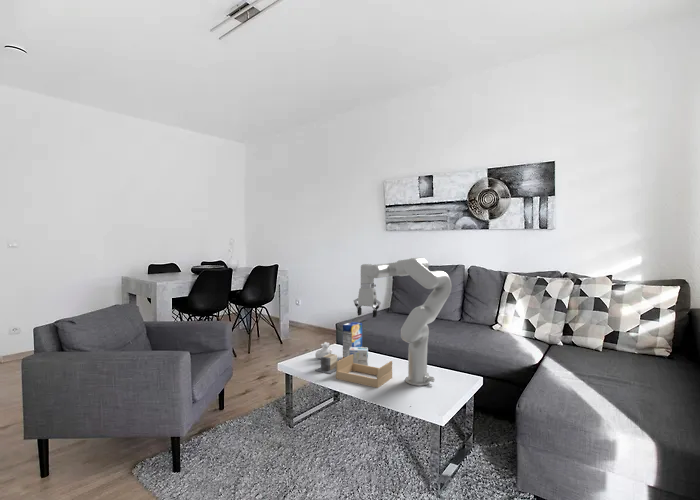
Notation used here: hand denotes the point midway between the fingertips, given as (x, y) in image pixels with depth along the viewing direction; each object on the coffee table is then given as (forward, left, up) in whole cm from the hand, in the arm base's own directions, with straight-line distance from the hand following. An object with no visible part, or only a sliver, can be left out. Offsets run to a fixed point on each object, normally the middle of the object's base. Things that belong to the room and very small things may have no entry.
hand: (367, 316), depth 225 cm
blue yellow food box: (+16, -11, -31) cm, 36 cm away
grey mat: (+18, +12, -30) cm, 37 cm away
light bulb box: (+6, -1, -31) cm, 31 cm away
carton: (-6, +14, -30) cm, 34 cm away
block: (+18, +12, -30) cm, 37 cm away
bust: (+32, -4, -31) cm, 44 cm away
